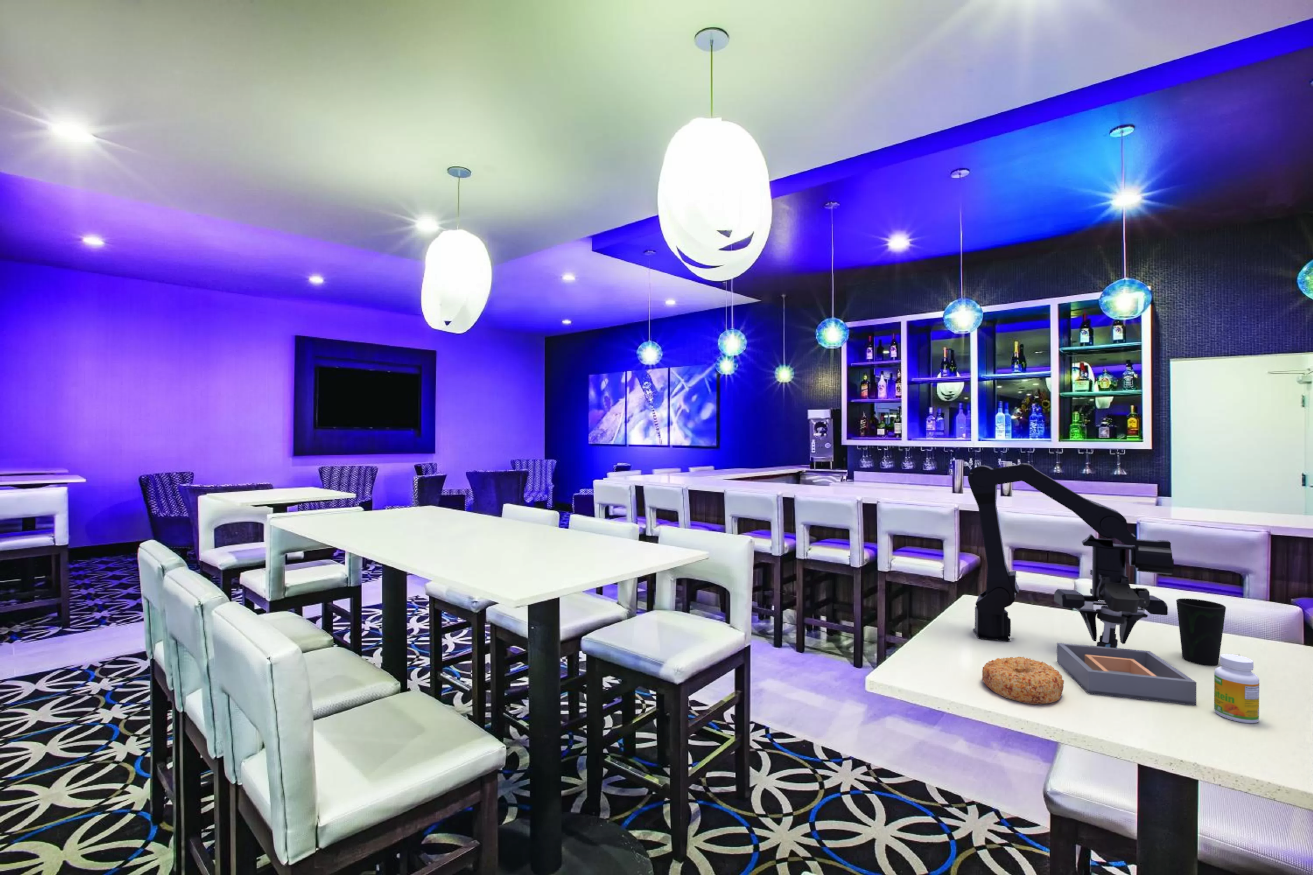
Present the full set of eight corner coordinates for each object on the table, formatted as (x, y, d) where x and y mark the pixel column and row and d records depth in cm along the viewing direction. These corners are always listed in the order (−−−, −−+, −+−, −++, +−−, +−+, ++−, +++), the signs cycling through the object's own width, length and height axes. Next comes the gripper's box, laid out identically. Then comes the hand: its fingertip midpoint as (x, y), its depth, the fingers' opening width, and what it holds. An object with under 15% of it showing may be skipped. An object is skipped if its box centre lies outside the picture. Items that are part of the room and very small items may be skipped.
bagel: (1056, 683, 113) (1056, 657, 113) (1072, 713, 101) (1072, 683, 101) (979, 672, 118) (979, 647, 118) (985, 699, 106) (985, 671, 106)
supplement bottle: (1204, 709, 102) (1205, 652, 102) (1233, 708, 103) (1234, 651, 103) (1238, 724, 97) (1238, 664, 97) (1268, 723, 97) (1269, 663, 97)
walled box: (1088, 693, 108) (1088, 671, 108) (1056, 662, 124) (1057, 642, 124) (1196, 705, 104) (1196, 682, 104) (1149, 671, 119) (1149, 650, 119)
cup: (1213, 656, 127) (1213, 600, 127) (1234, 670, 120) (1234, 609, 120) (1168, 652, 130) (1169, 596, 130) (1186, 664, 123) (1186, 606, 123)
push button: (1100, 647, 132) (1105, 602, 132) (1129, 656, 128) (1134, 610, 127) (1087, 652, 128) (1091, 605, 128) (1116, 661, 124) (1121, 613, 124)
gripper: (1072, 573, 123) (1071, 649, 123) (1182, 580, 118) (1182, 660, 117) (1053, 562, 134) (1053, 633, 133) (1153, 568, 128) (1153, 642, 128)
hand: (1108, 642), depth 128 cm, fingers closed on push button, 5 cm apart
